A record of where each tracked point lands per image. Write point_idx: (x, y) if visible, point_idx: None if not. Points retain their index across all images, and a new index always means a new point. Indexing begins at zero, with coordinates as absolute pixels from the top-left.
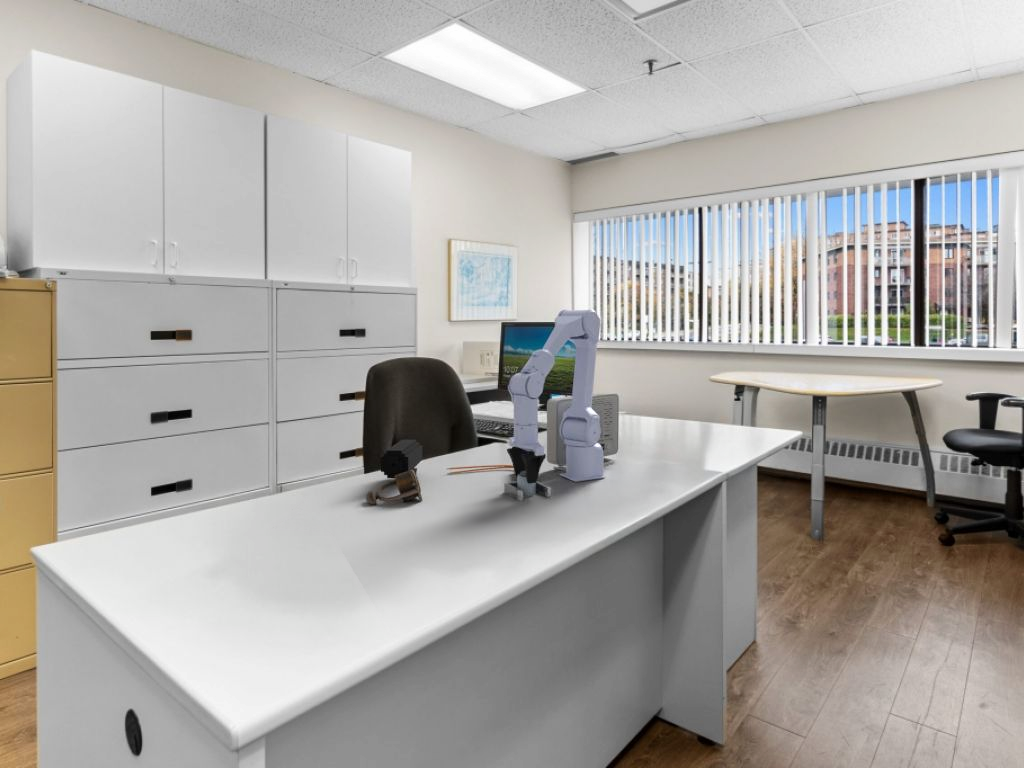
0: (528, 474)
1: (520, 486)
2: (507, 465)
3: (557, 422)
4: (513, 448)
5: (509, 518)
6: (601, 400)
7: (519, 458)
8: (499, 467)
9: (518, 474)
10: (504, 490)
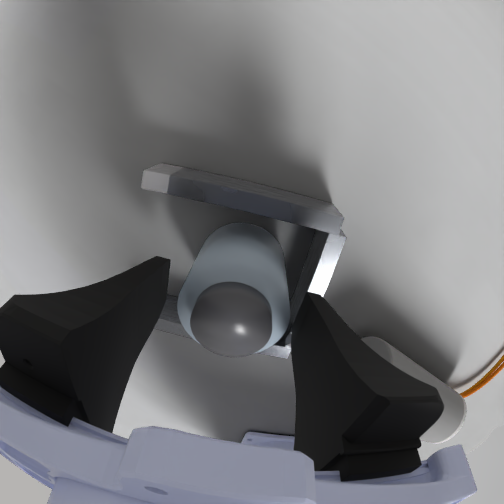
0: (124, 274)
1: (227, 240)
2: (483, 384)
3: None
4: (396, 442)
5: (41, 30)
6: None
7: (318, 394)
8: (497, 365)
9: (288, 300)
10: (333, 205)
